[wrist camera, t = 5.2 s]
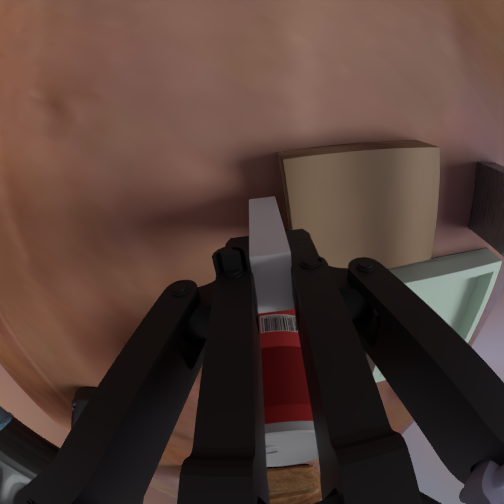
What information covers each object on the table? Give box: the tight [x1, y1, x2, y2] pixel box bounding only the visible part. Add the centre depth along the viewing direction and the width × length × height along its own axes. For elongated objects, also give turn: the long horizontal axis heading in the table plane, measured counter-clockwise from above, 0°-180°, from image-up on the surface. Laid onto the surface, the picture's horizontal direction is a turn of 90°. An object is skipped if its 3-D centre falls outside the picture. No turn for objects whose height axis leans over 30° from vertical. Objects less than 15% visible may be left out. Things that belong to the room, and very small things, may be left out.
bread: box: [267, 465, 322, 504], centre depth 41 cm, size 12×31×14 cm, turn 92°
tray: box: [366, 248, 502, 382], centre depth 21 cm, size 13×13×2 cm
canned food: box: [258, 306, 319, 467], centre depth 18 cm, size 8×8×11 cm
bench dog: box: [469, 162, 504, 256], centre depth 14 cm, size 3×6×5 cm, turn 7°
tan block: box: [277, 141, 440, 269], centre depth 16 cm, size 10×8×3 cm
